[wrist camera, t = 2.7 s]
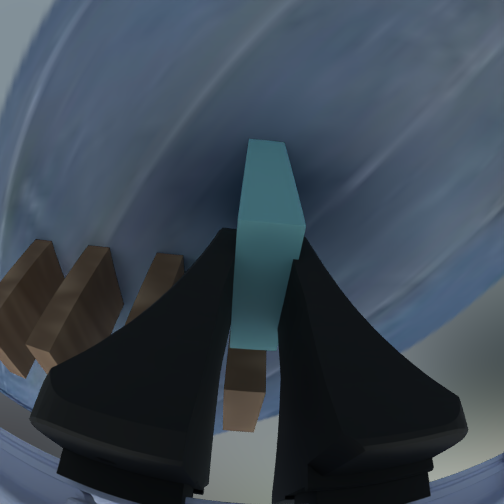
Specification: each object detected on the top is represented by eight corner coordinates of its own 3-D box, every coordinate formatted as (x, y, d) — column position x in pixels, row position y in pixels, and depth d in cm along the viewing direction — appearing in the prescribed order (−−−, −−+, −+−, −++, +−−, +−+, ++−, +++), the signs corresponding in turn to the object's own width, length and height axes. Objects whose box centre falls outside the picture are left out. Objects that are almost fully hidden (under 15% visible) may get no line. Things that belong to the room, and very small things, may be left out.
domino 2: (109, 247, 17) (49, 352, 10) (123, 304, 20) (85, 401, 13) (88, 245, 17) (25, 344, 10) (104, 301, 20) (63, 393, 13)
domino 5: (283, 138, 13) (305, 225, 7) (271, 227, 16) (276, 350, 10) (249, 135, 13) (237, 219, 7) (241, 224, 16) (229, 347, 10)
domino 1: (51, 241, 17) (-13, 328, 10) (70, 294, 20) (25, 378, 13) (35, 239, 17) (-28, 321, 10) (55, 291, 20) (10, 371, 13)
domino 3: (183, 255, 17) (143, 377, 10) (187, 313, 20) (162, 420, 13) (156, 252, 17) (107, 369, 10) (165, 310, 20) (134, 414, 13)
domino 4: (266, 263, 17) (265, 392, 11) (257, 321, 20) (253, 432, 14) (238, 261, 17) (223, 389, 11) (234, 318, 20) (222, 429, 13)
